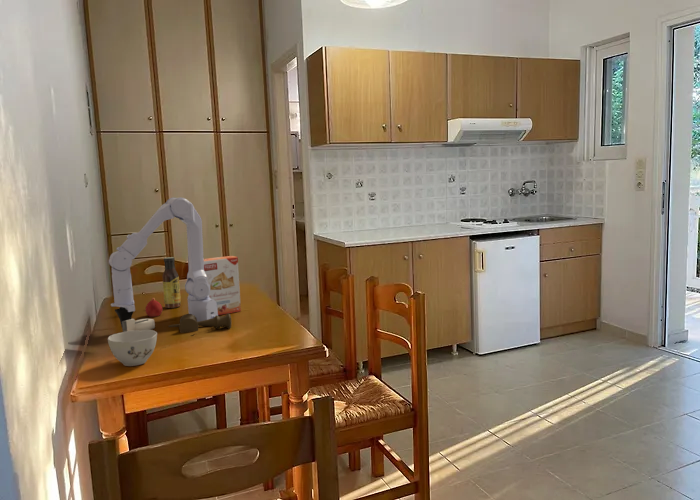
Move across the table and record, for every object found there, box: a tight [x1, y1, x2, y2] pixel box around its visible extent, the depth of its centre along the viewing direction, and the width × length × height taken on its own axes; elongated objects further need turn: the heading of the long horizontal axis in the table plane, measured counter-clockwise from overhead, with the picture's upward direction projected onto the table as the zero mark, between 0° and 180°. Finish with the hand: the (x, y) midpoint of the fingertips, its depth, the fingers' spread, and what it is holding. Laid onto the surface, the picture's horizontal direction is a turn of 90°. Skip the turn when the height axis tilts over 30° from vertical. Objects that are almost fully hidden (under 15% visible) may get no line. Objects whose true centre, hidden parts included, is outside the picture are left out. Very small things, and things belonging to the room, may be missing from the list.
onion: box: [145, 297, 163, 318], centre depth 199 cm, size 6×6×8 cm
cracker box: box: [204, 255, 242, 316], centre depth 203 cm, size 14×6×21 cm, turn 126°
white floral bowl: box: [107, 329, 158, 367], centre depth 151 cm, size 15×12×8 cm
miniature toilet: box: [121, 318, 156, 332], centre depth 180 cm, size 10×7×4 cm
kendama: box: [167, 313, 232, 337], centre depth 180 cm, size 6×10×20 cm
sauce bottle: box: [162, 256, 182, 309], centre depth 218 cm, size 6×6×20 cm
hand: (126, 329), depth 178 cm, fingers closed, pressing on miniature toilet
